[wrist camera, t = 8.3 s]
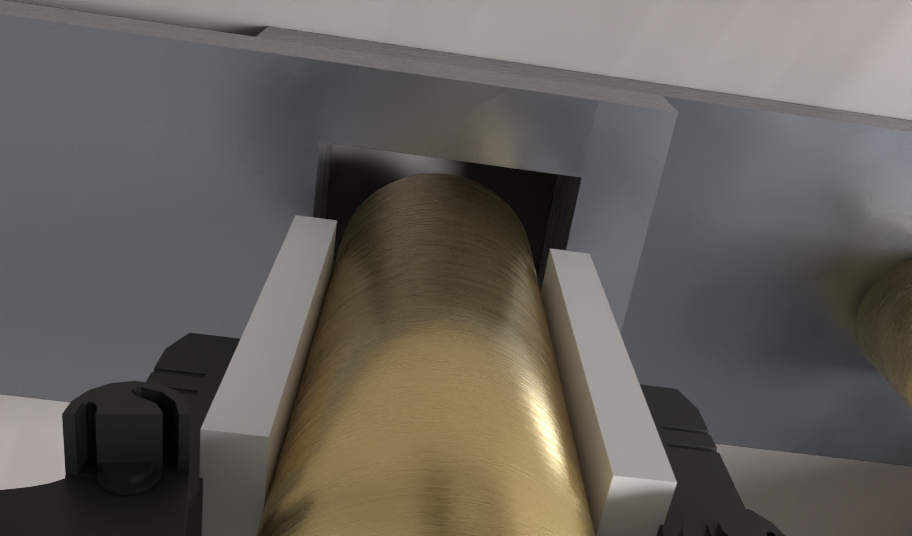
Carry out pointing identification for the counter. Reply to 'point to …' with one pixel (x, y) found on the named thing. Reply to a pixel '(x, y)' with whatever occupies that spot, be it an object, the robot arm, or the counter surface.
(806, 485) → the counter surface
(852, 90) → the counter surface
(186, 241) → the grey slide latch
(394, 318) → the pin
